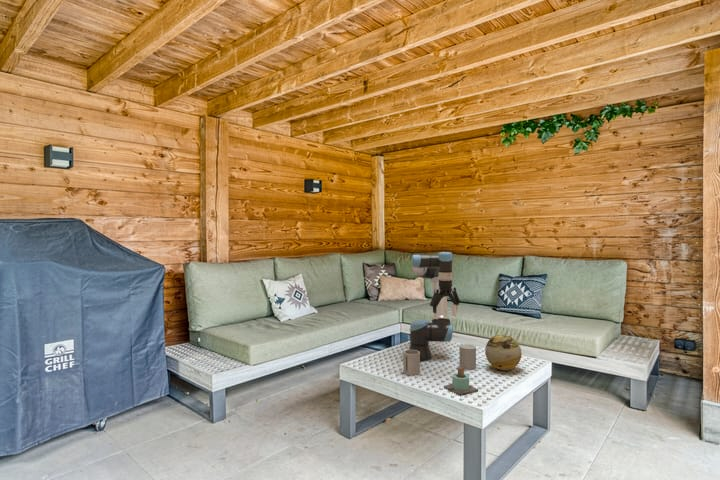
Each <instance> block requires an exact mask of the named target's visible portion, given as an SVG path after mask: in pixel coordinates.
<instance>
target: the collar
mask: <svg viewBox="0 0 720 480" xmlns="http://www.w3.org/2000/svg"><path fill="white" fill-rule="evenodd" d="M451 377H452V381H451V382H452V383H451V384H452V388H453V389H455V390H458V391H466V390H469V385H470V375H469V374H466V373H464V378H458V372H456V373H452V376H451Z"/></svg>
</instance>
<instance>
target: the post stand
mask: <svg viewBox="0 0 720 480" xmlns="http://www.w3.org/2000/svg"><path fill="white" fill-rule="evenodd" d="M457 373H458V378H464V374H465V370H464V368H463V367H457ZM443 389H444V390H447V389H448V390H447V391H449V392H452V393H453V392H454V393H453V394H455V393H456V394H455V395H457V394H458V395H457V396H459V395H460V396H459V397H462V396H461V395H463V396H466V395H469V393H470V394H474V393H477V392H479V389H478V388H476V387H474V386H472V385H470V384H469V390H466V391H458V390H455V389H453V388H452V383H451V384H447V385H444V386H443Z"/></svg>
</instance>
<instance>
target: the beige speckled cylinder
mask: <svg viewBox="0 0 720 480" xmlns="http://www.w3.org/2000/svg"><path fill="white" fill-rule="evenodd" d="M476 350H477V345H473V344H469V343H467V344H466V343H465V344H460V345H459V367H463V368H464V371H474V370H476V369H477V351H476Z"/></svg>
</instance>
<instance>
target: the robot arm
mask: <svg viewBox="0 0 720 480" xmlns="http://www.w3.org/2000/svg"><path fill="white" fill-rule="evenodd" d="M411 267H412V268H411V270H412V273H413V274H414V275H415V276H416V277H418V278H421V279H430V280H429V281H430V282H431V284H432V298H431V301H430V303H429V306H430V307H432V314H433V318H432V319H431V322H430V321H429V319H428V320H427V319H416V320H413V321H412V322H410V326H409V333H410V335H409V337H410V338H409V339H410V342H409V344H410V345H409V347H408V350H417V351H419V352H420V362H425V361H426V362H427V361H430V360H432V356H433V354H432V352H431V348H430V342H432V343H433V342H438V343H447V342H448V343H450V342H451V341H452V338H453V333H454V323H453V322H451V319H450V318H449V317H448V301H447V299H448V298H449V300H450V302H452V304H451V306H452V308H451V309H452V311H451V313H452V315H451V316H452V317H456V318H457V317H458V316H457V314H458V313H457V311H458V306H459V304H461V300H460V297H459V295H458V292H457V288H456V287H453V253H452V252H451V251H450V252H449V251H442V252H441V251H440V252H439V253H438V254H413V255H412V256H411Z"/></svg>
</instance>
